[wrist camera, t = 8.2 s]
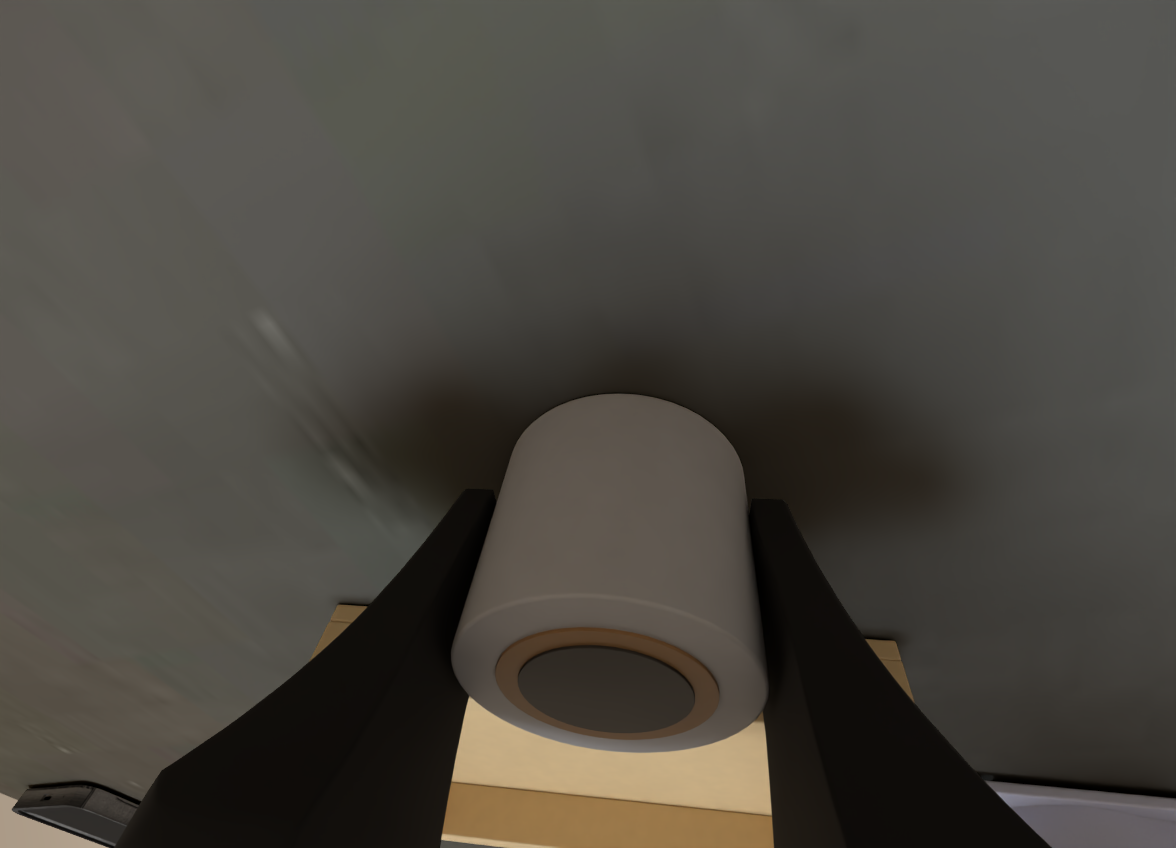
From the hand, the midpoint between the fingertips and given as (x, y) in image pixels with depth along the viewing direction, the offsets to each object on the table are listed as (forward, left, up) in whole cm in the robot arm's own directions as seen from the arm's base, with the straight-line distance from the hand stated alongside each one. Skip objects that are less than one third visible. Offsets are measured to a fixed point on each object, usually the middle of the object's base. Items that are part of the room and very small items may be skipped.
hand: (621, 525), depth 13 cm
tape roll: (0, 0, -1) cm, 1 cm away
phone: (+33, +35, -1) cm, 48 cm away
